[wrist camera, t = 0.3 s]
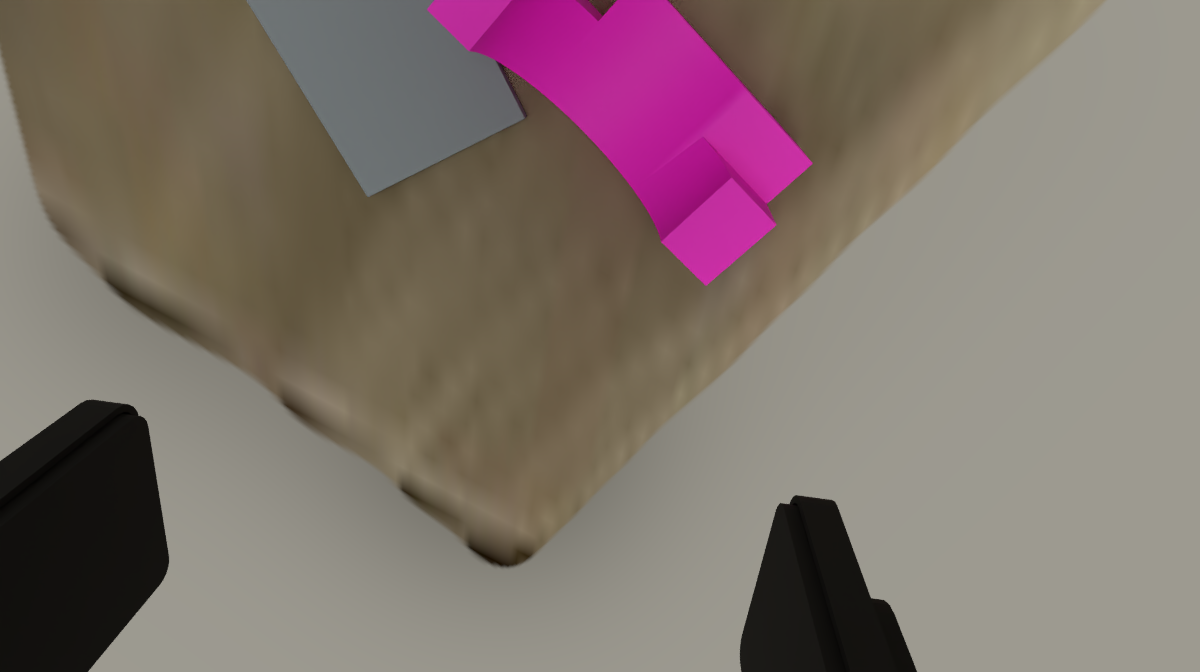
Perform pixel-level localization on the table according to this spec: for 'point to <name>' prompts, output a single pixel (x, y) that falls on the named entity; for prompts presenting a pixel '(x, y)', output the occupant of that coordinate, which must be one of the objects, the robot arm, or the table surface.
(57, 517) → the robot arm
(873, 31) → the table surface
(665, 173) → the toy block
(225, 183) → the table surface
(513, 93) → the mat
